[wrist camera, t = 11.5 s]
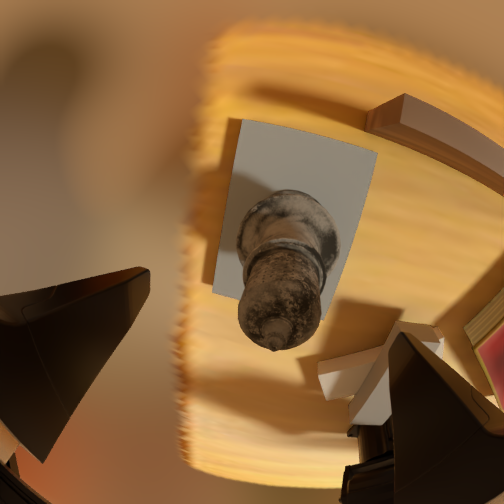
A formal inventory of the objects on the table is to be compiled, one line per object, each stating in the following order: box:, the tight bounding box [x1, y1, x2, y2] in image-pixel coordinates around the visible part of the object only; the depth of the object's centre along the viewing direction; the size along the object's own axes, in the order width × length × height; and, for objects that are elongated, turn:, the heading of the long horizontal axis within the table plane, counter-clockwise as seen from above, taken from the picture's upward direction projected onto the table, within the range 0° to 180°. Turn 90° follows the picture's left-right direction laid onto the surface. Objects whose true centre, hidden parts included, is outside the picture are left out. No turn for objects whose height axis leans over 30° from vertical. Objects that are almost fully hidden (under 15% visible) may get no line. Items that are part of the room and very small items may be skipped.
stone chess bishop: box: [236, 190, 341, 352], centre depth 13 cm, size 6×6×12 cm
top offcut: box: [348, 321, 441, 425], centre depth 19 cm, size 4×11×2 cm, turn 172°
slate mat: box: [212, 119, 378, 320], centre depth 19 cm, size 13×9×1 cm
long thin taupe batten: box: [364, 93, 504, 196], centre depth 12 cm, size 2×16×7 cm, turn 78°
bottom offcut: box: [317, 326, 444, 401], centre depth 22 cm, size 4×12×2 cm, turn 111°
